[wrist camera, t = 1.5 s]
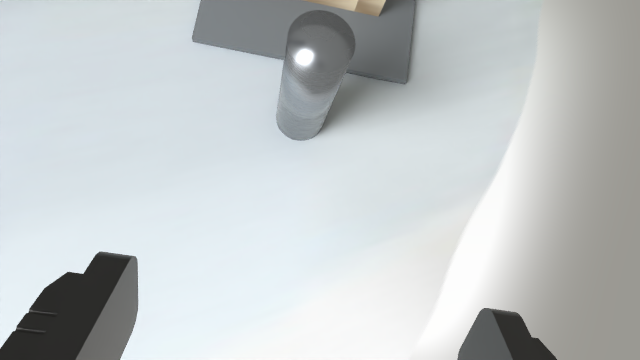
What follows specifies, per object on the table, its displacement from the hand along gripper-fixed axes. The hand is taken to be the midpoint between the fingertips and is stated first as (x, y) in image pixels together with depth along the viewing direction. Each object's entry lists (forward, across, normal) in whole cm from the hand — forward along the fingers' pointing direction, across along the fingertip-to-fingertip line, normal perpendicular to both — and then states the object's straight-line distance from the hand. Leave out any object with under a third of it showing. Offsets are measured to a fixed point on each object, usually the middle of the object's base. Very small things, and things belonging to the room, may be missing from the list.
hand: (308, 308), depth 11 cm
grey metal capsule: (+21, 0, +4) cm, 21 cm away
